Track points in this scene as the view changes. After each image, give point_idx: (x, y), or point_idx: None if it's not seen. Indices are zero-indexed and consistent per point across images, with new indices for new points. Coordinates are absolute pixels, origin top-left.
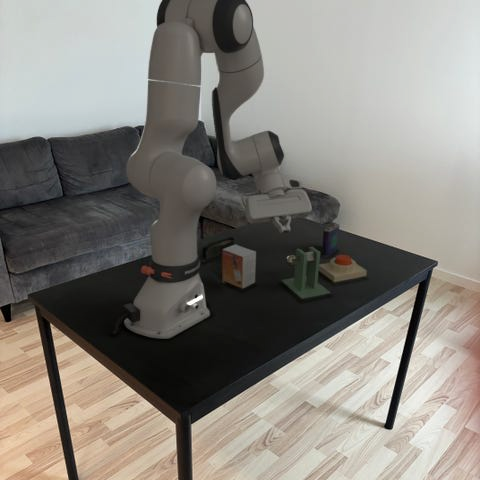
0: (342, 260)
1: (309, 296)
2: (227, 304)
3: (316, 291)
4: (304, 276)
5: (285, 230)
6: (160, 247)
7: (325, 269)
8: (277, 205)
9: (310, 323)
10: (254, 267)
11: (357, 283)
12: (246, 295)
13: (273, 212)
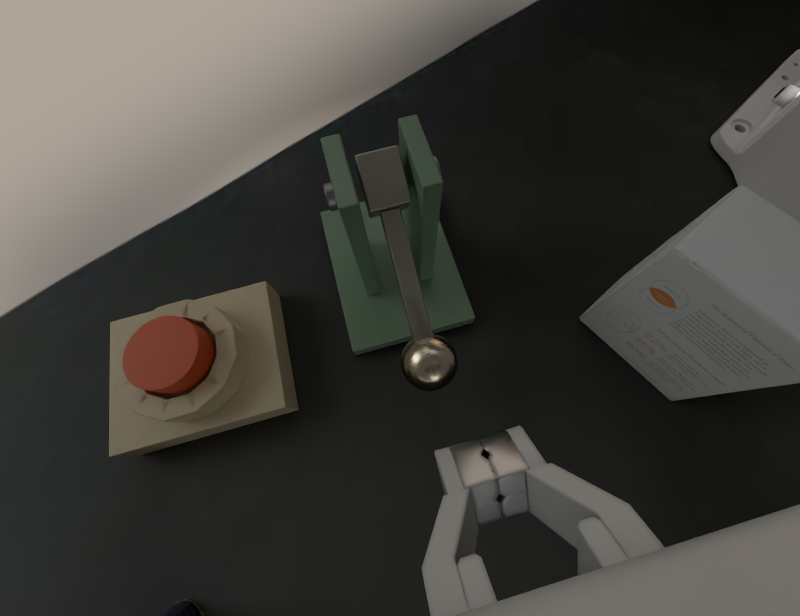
0: (184, 319)
1: None
2: (665, 197)
3: (364, 221)
4: None
5: (485, 438)
6: None
7: (274, 349)
8: None
9: (426, 98)
10: (624, 281)
11: None
12: (606, 248)
13: (747, 591)
